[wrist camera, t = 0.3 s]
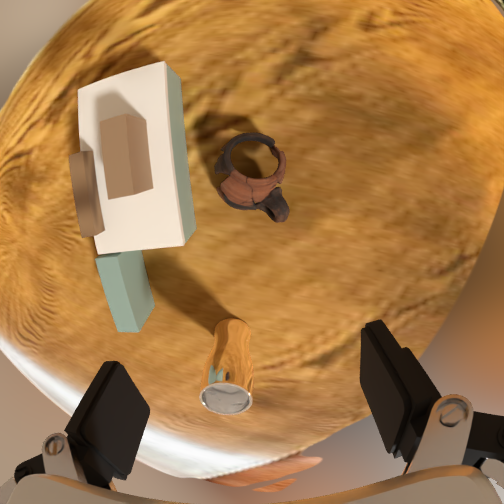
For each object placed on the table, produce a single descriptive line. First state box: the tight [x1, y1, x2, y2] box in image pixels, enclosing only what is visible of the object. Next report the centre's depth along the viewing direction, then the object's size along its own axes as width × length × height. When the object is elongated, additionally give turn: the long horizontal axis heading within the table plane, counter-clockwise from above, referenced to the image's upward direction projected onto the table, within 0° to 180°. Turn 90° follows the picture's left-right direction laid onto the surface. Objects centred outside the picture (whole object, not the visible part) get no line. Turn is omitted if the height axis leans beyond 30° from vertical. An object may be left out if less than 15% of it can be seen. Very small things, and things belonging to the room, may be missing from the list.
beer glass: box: [200, 318, 254, 415], centre depth 37 cm, size 7×7×15 cm
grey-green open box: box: [95, 64, 197, 332], centre depth 34 cm, size 34×13×8 cm, turn 5°
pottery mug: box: [215, 133, 289, 223], centre depth 34 cm, size 12×10×8 cm
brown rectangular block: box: [69, 151, 105, 238], centre depth 28 cm, size 10×2×2 cm, turn 5°
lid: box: [78, 61, 185, 254], centre depth 26 cm, size 22×12×8 cm, turn 5°
